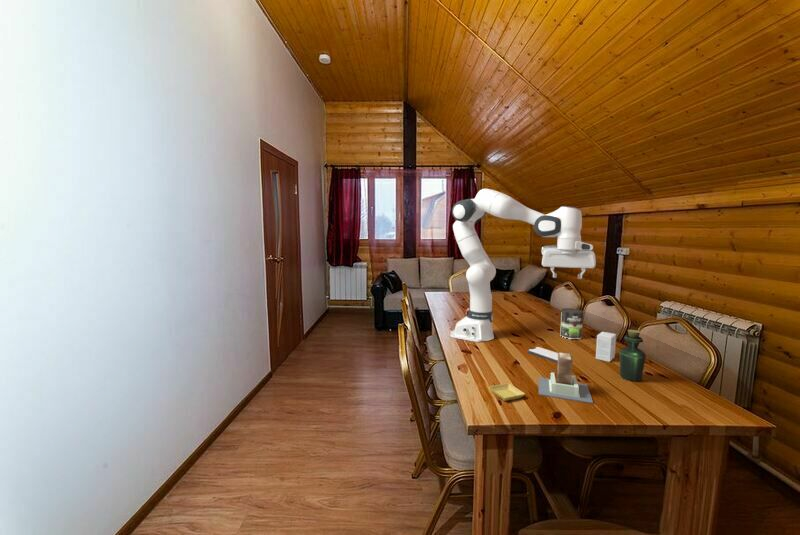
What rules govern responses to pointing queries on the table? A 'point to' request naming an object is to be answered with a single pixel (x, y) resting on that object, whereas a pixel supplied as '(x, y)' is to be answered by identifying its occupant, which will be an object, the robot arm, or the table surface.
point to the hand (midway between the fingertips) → (567, 278)
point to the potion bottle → (632, 357)
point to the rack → (564, 387)
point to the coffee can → (571, 323)
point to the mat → (545, 391)
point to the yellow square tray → (506, 391)
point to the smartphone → (544, 353)
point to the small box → (605, 346)
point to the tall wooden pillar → (564, 368)
